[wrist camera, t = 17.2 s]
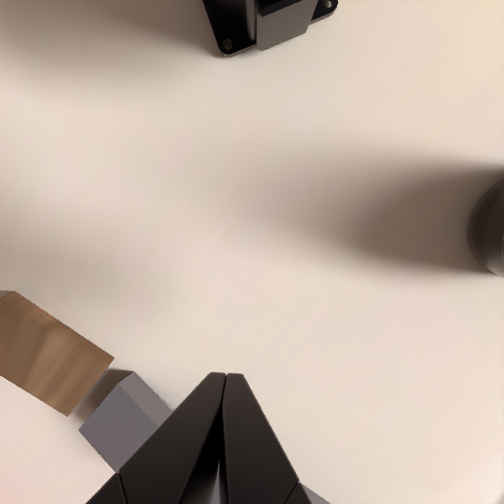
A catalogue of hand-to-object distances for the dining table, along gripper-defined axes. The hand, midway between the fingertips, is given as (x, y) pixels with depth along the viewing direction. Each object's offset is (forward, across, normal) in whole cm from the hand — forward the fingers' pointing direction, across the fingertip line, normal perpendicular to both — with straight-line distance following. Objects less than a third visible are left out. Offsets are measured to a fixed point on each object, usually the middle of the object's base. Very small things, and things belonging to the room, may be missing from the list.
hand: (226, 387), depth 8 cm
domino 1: (+12, +17, +6) cm, 21 cm away
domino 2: (+12, +9, +11) cm, 19 cm away
